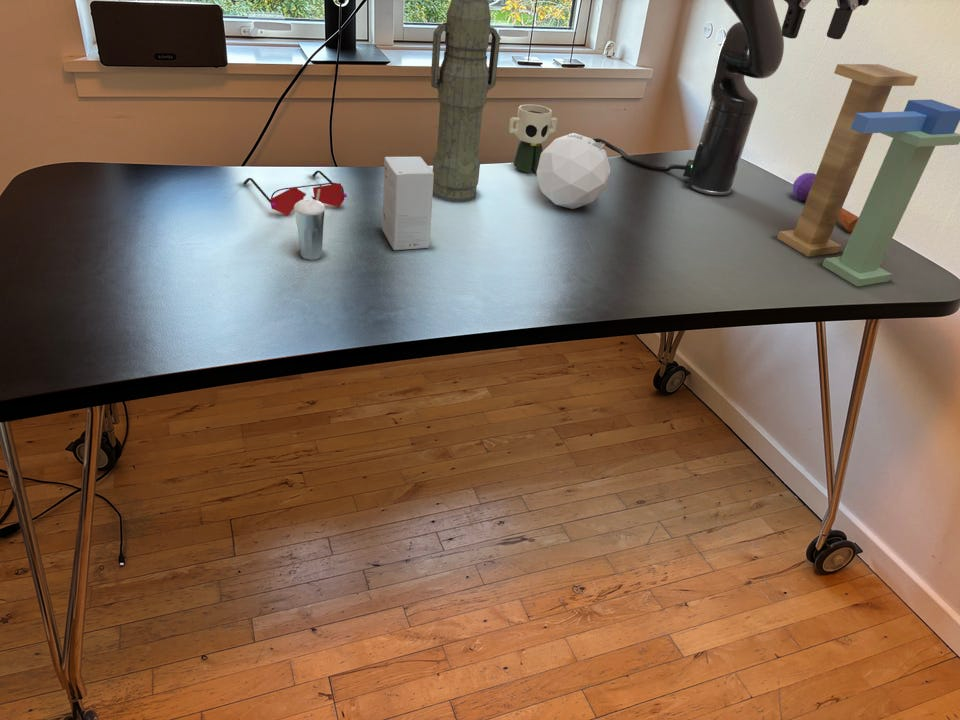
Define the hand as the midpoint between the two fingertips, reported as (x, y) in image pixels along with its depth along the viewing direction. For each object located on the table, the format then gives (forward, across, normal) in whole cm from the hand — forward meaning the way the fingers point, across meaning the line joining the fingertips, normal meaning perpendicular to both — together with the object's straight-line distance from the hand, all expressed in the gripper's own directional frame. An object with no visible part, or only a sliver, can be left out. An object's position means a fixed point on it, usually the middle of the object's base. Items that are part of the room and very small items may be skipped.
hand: (811, 37), depth 98 cm
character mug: (+38, +11, -54) cm, 67 cm away
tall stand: (+38, -26, -8) cm, 47 cm away
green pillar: (+38, -26, +4) cm, 46 cm away
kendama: (+38, -42, -20) cm, 61 cm away
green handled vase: (+38, +32, -44) cm, 67 cm away
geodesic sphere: (+38, +12, -35) cm, 53 cm away
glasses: (+38, +63, -47) cm, 88 cm away
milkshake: (+38, +65, -24) cm, 79 cm away
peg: (+12, -21, +4) cm, 24 cm away
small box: (+38, +49, -26) cm, 67 cm away
